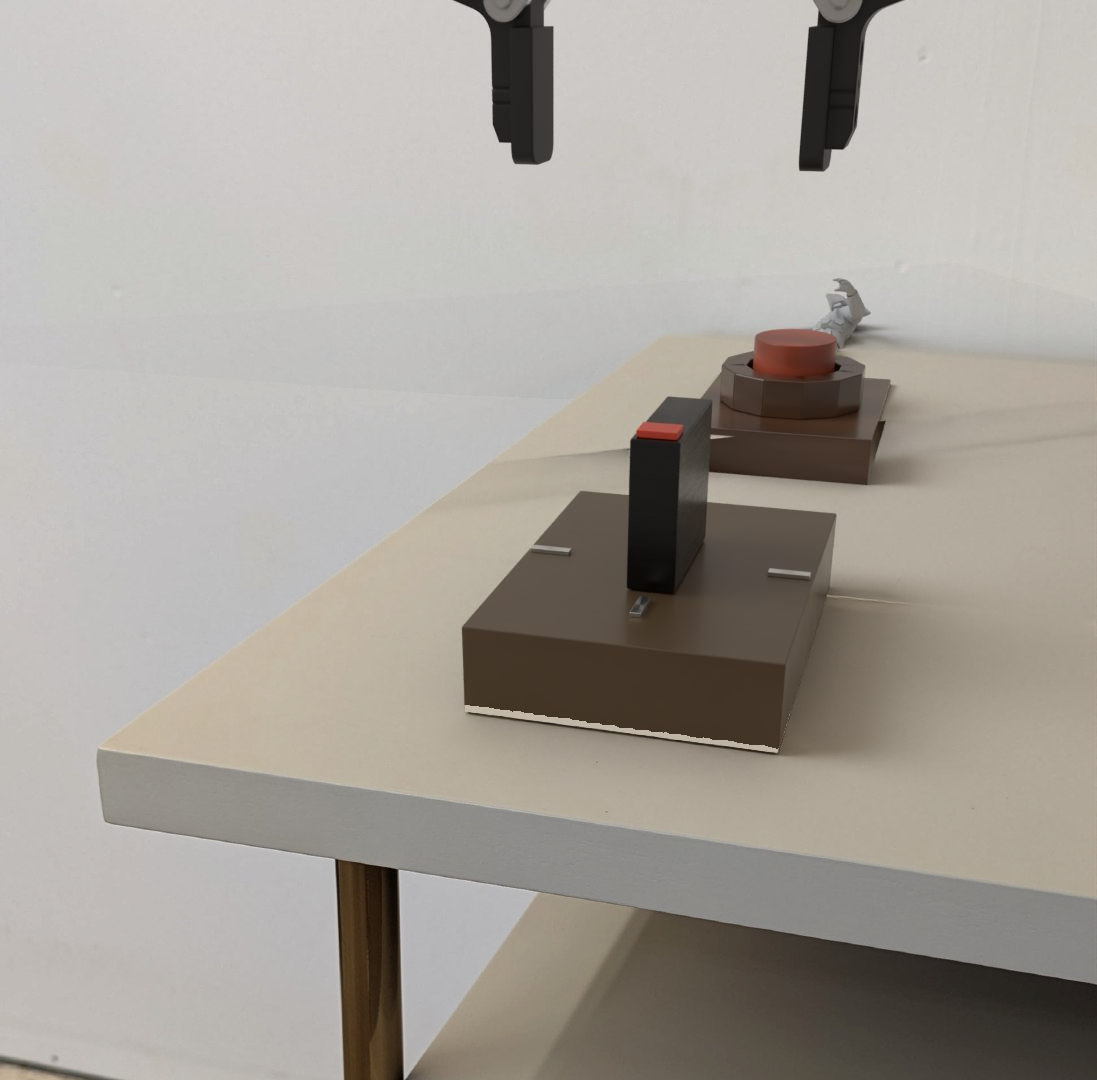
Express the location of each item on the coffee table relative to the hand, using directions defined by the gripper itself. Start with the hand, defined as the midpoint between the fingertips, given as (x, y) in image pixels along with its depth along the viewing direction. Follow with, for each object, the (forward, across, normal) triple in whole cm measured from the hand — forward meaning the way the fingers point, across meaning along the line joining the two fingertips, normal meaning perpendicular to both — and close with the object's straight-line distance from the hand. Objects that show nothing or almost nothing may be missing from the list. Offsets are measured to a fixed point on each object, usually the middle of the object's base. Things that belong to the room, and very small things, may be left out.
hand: (669, 165), depth 42 cm
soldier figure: (+16, -1, -41) cm, 44 cm away
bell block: (+16, -1, -27) cm, 31 cm away
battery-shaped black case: (+13, 0, 0) cm, 13 cm away
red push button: (+12, -1, -27) cm, 29 cm away
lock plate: (+16, 0, 0) cm, 16 cm away
